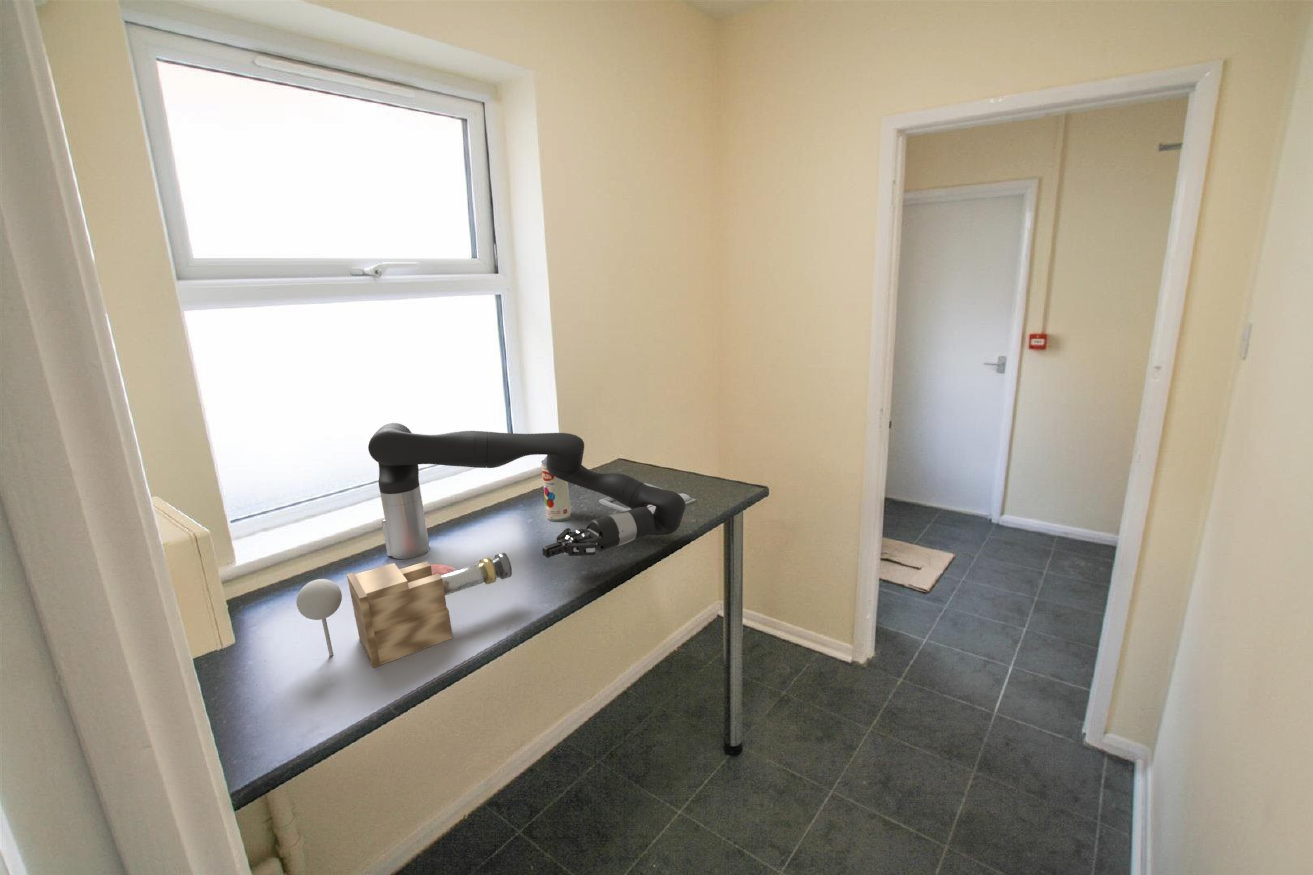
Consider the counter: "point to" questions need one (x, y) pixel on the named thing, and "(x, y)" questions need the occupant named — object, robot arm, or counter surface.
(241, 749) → the counter surface
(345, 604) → the counter surface
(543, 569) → the counter surface
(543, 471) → the aerosol can
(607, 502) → the office telephone
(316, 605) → the lollipop
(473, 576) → the shaft
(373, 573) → the bearing block
